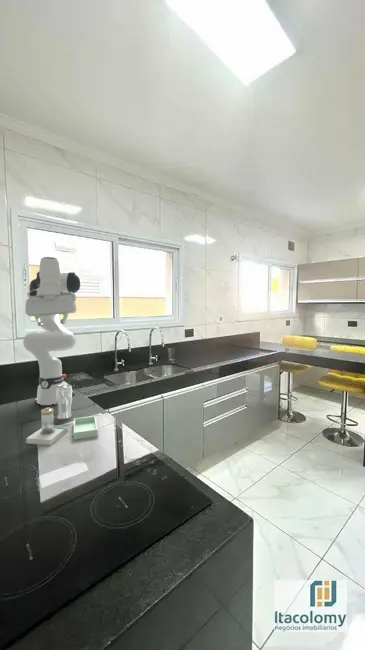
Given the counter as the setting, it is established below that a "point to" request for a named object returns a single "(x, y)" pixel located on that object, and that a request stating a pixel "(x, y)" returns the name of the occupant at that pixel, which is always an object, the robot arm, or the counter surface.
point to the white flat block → (46, 436)
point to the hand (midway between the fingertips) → (51, 324)
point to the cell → (47, 420)
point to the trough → (85, 427)
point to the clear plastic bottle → (64, 401)
